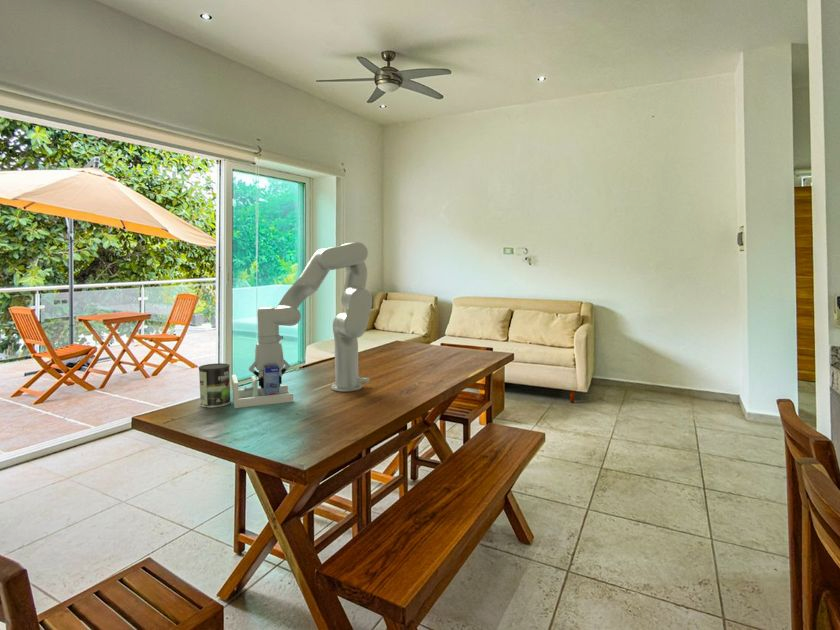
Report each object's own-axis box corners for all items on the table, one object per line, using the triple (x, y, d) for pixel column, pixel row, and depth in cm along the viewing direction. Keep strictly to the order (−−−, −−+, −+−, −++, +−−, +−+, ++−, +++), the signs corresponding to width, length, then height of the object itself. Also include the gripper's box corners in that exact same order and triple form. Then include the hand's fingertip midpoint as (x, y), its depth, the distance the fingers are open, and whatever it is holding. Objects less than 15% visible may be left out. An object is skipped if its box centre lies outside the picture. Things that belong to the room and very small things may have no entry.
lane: (287, 392, 185) (286, 370, 184) (293, 401, 172) (292, 377, 171) (232, 397, 176) (231, 374, 176) (234, 408, 163) (233, 383, 163)
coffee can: (236, 400, 173) (235, 363, 171) (219, 408, 163) (217, 369, 161) (212, 399, 175) (210, 362, 173) (193, 406, 165) (192, 368, 163)
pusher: (255, 395, 178) (254, 375, 178) (258, 403, 168) (257, 382, 167) (243, 396, 177) (242, 376, 176) (245, 404, 167) (245, 383, 166)
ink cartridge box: (280, 398, 172) (279, 360, 171) (265, 400, 170) (263, 361, 168) (275, 392, 181) (274, 355, 180) (261, 393, 179) (259, 357, 177)
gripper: (290, 337, 180) (291, 382, 182) (243, 339, 173) (245, 386, 175) (293, 339, 173) (295, 386, 175) (245, 342, 166) (247, 391, 168)
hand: (270, 386), depth 175 cm, fingers closed on ink cartridge box, 5 cm apart
